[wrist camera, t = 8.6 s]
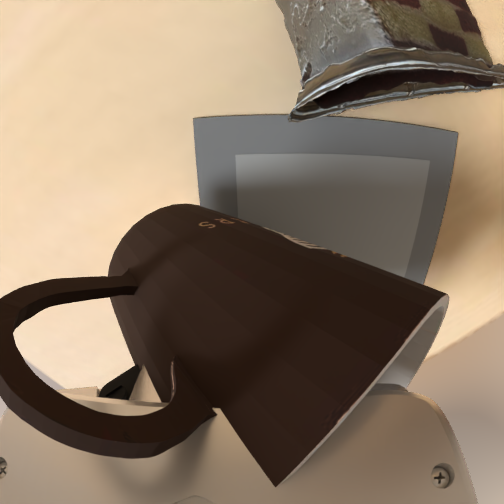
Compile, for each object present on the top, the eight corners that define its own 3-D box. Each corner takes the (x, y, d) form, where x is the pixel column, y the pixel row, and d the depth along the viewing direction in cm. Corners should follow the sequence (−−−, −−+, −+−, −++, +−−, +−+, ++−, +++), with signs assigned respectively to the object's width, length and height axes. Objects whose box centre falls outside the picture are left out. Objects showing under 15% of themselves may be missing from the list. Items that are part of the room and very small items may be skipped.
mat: (193, 118, 12) (192, 118, 12) (456, 132, 12) (458, 132, 12) (217, 339, 19) (217, 342, 19) (407, 322, 19) (408, 324, 19)
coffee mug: (269, 268, 18) (423, 366, 11) (157, 373, 15) (283, 517, 9) (178, 71, 10) (487, 79, 3) (-14, 221, 7) (-9, 564, 1)
